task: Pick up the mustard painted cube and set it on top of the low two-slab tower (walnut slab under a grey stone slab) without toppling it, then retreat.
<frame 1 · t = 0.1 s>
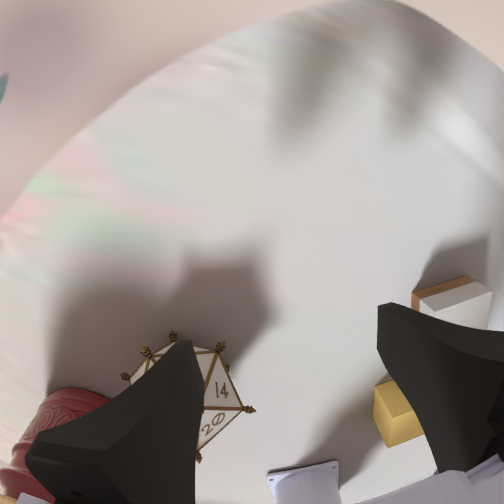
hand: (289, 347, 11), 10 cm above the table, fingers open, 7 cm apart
tower top slab: (447, 322, 21), point 2 cm above the table
tower base slab: (435, 312, 23), on the table
game die: (191, 360, 23), on the table
canister: (99, 429, 25), on the table
mustard cube: (394, 395, 25), on the table
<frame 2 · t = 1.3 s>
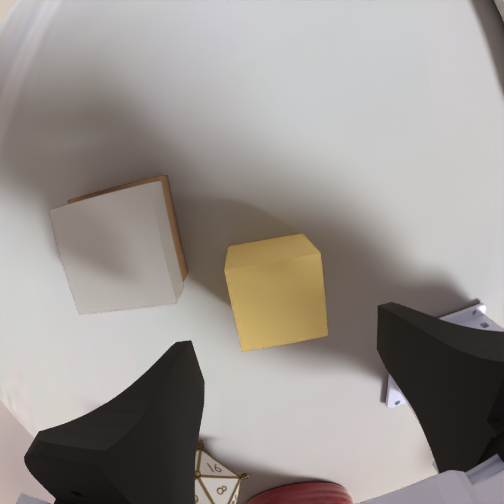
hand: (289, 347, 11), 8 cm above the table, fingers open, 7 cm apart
tower top slab: (122, 244, 16), point 2 cm above the table, touching tower base slab
tower base slab: (133, 232, 18), on the table, touching tower top slab
game die: (200, 456, 24), on the table
canister: (296, 503, 27), on the table
mustard cube: (271, 274, 19), on the table
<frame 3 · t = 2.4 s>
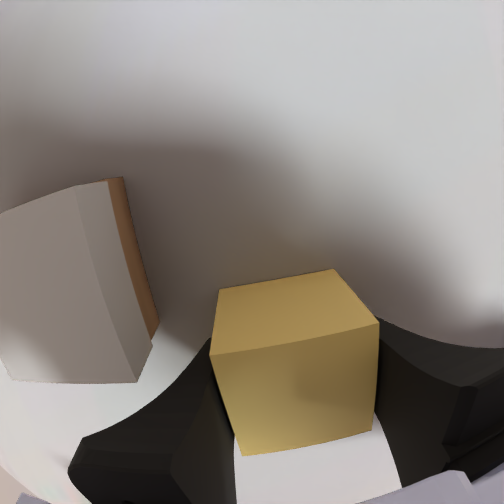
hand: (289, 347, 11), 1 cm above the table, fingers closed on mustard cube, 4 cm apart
tower top slab: (60, 281, 10), point 2 cm above the table, touching tower base slab
tower base slab: (82, 262, 12), on the table, touching tower top slab
mustard cube: (284, 329, 12), on the table, touching gripper
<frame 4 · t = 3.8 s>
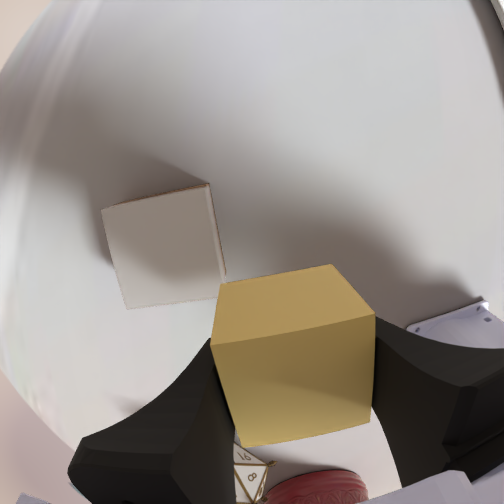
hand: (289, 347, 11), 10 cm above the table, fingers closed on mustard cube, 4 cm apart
tower top slab: (169, 243, 18), point 2 cm above the table, touching tower base slab
game die: (227, 447, 26), on the table
canister: (313, 492, 29), on the table
mustard cube: (284, 323, 13), point 8 cm above the table, touching gripper
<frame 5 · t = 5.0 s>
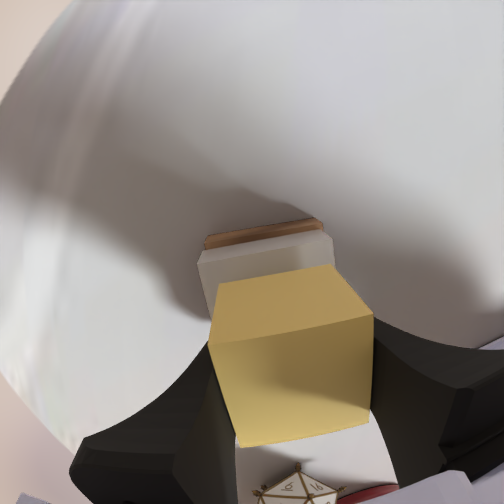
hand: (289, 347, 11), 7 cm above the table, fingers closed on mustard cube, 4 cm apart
tower top slab: (271, 294, 16), point 2 cm above the table, touching tower base slab
tower base slab: (268, 274, 18), on the table, touching tower top slab
game die: (290, 476, 24), on the table
mustard cube: (283, 323, 13), point 5 cm above the table, touching gripper
when the fingers open (7 cm above the table, at t = 5.3 s): mustard cube drops 1 cm, resting on tower top slab.
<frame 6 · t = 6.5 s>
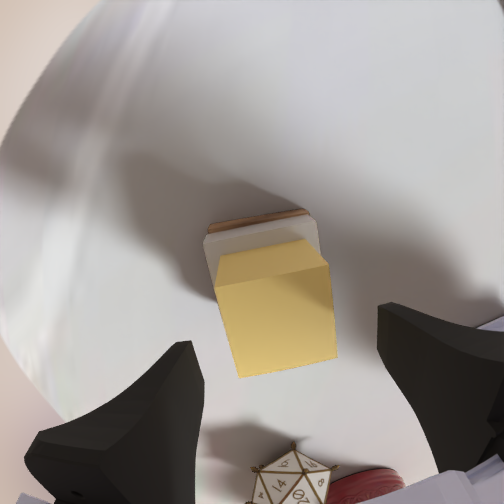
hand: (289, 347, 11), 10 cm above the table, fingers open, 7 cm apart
tower top slab: (266, 271, 19), point 2 cm above the table, touching mustard cube, tower base slab
tower base slab: (263, 258, 21), on the table, touching tower top slab
game die: (286, 456, 26), on the table
canister: (354, 491, 30), on the table
mustard cube: (270, 286, 17), point 4 cm above the table, touching tower top slab
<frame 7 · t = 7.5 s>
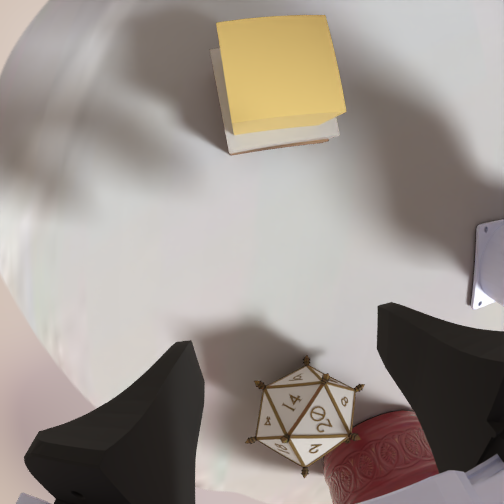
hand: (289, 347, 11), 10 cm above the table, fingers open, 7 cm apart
tower top slab: (271, 97, 17), point 2 cm above the table, touching tower base slab
game die: (297, 382, 24), on the table
canister: (375, 445, 28), on the table
mustard cube: (270, 89, 15), point 4 cm above the table
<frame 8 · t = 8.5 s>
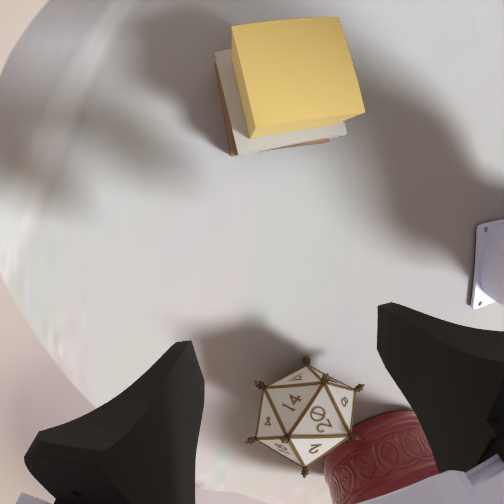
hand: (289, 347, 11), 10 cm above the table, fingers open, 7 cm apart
tower top slab: (276, 98, 17), point 2 cm above the table, touching mustard cube
tower base slab: (269, 106, 19), on the table
game die: (297, 382, 24), on the table
canister: (375, 445, 28), on the table
mustard cube: (282, 91, 15), point 4 cm above the table, touching tower top slab
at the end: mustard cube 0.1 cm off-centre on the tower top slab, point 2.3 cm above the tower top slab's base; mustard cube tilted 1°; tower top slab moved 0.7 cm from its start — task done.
